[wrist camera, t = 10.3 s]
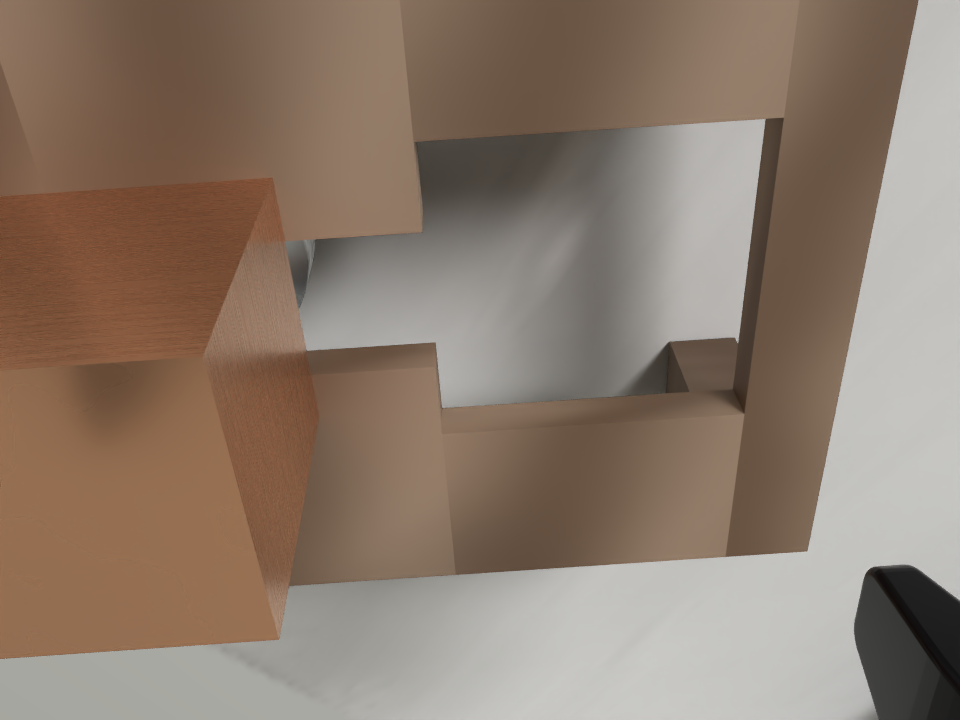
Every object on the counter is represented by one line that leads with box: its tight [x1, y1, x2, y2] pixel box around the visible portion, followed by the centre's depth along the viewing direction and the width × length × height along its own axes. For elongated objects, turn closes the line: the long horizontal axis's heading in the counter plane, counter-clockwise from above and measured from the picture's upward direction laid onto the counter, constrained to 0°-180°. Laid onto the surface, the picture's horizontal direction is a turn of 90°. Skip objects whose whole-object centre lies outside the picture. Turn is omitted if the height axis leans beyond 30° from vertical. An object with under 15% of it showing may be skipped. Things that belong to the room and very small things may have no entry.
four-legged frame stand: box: [0, 0, 918, 586], centre depth 18 cm, size 16×13×6 cm
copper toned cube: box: [0, 178, 319, 659], centre depth 15 cm, size 5×5×8 cm
